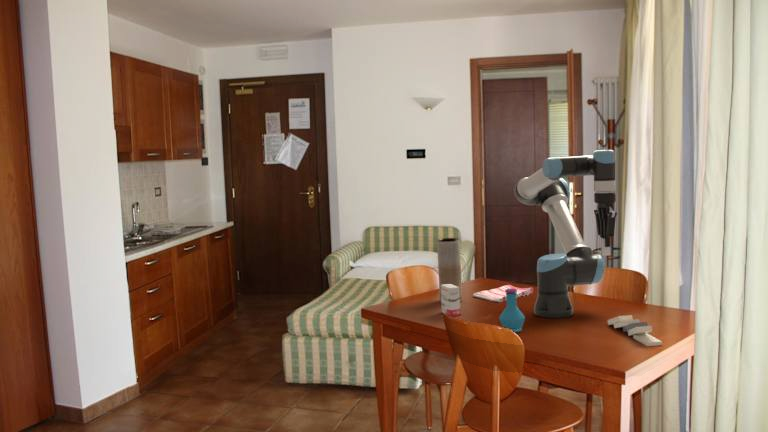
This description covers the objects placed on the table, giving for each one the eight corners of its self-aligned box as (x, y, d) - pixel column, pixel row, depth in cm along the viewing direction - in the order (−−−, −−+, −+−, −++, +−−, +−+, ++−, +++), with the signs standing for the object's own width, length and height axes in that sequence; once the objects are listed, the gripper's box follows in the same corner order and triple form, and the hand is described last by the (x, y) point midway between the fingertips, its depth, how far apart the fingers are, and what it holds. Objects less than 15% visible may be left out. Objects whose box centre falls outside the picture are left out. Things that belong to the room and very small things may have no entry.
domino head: (621, 323, 238) (633, 320, 229) (608, 325, 238) (619, 321, 228) (620, 319, 239) (632, 315, 229) (607, 320, 238) (618, 316, 229)
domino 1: (627, 327, 234) (640, 324, 224) (614, 328, 233) (626, 325, 224) (626, 322, 234) (639, 319, 225) (613, 323, 234) (625, 320, 224)
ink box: (461, 315, 264) (460, 286, 263) (450, 316, 262) (448, 288, 261) (452, 310, 272) (450, 283, 271) (441, 312, 270) (439, 284, 269)
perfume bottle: (520, 334, 232) (518, 292, 231) (496, 331, 237) (494, 291, 236) (528, 327, 240) (527, 287, 239) (505, 325, 245) (503, 286, 244)
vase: (449, 298, 296) (446, 237, 293) (466, 300, 289) (464, 238, 286) (435, 302, 289) (432, 240, 286) (452, 305, 282) (449, 241, 279)
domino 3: (643, 334, 223) (652, 330, 213) (628, 335, 223) (637, 332, 214) (642, 329, 223) (651, 325, 214) (627, 330, 223) (636, 326, 214)
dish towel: (535, 294, 295) (534, 287, 295) (499, 304, 281) (499, 296, 281) (506, 289, 309) (506, 282, 308) (471, 298, 295) (471, 290, 295)
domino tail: (647, 338, 221) (662, 346, 211) (633, 339, 220) (647, 348, 211) (647, 333, 221) (662, 341, 211) (633, 334, 220) (647, 342, 211)
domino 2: (622, 327, 228) (632, 323, 219) (636, 325, 228) (646, 321, 219) (623, 332, 228) (633, 328, 218) (637, 330, 228) (648, 327, 218)
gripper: (623, 192, 233) (624, 257, 235) (605, 190, 246) (606, 252, 248) (603, 193, 232) (605, 258, 234) (587, 191, 245) (588, 253, 247)
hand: (606, 255), depth 241 cm, fingers closed
